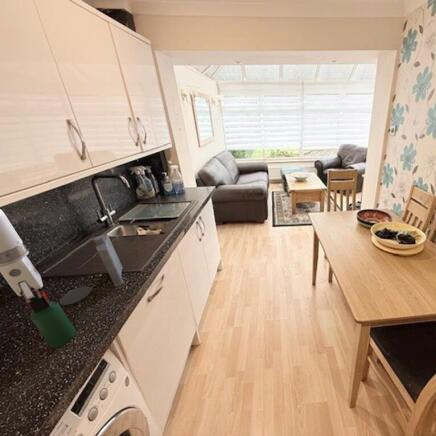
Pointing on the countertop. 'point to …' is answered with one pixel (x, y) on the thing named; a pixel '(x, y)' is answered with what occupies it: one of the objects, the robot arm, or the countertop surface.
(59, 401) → the countertop surface
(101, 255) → the grey flat block
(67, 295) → the coaster
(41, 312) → the bottle
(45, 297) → the cap
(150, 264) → the countertop surface
